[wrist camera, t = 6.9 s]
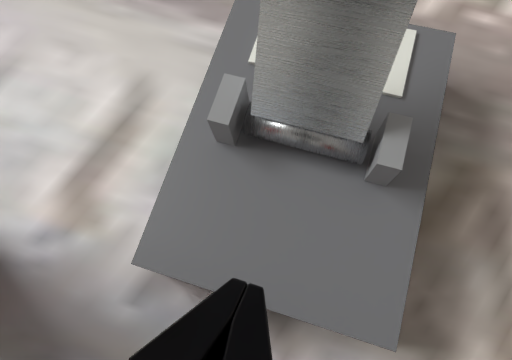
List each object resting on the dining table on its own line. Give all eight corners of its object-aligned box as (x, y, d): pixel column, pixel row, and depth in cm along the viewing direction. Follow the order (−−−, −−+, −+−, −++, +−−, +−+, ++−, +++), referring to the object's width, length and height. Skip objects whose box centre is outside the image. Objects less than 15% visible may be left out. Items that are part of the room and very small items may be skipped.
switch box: (372, 339, 19) (417, 363, 13) (159, 269, 20) (107, 259, 14) (426, 76, 23) (479, -2, 17) (245, 36, 25) (233, -48, 18)
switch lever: (358, 179, 16) (505, -184, 8) (238, 147, 17) (261, -211, 9) (363, 143, 18) (488, -182, 10) (255, 116, 19) (286, -205, 11)
